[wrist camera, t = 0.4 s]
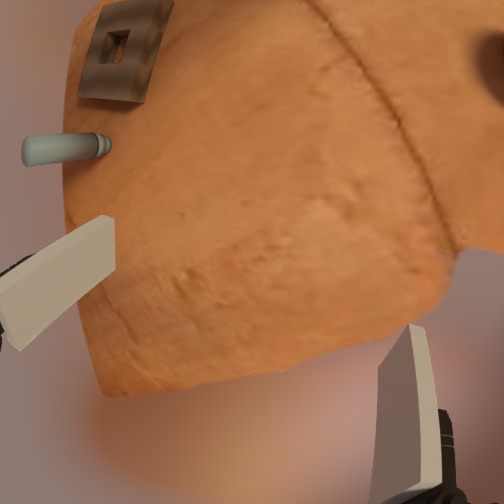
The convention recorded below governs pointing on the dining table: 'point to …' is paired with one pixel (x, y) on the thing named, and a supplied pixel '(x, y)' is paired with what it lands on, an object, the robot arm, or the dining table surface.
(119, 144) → the dining table surface
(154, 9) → the board
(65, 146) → the grey rounded cylinder
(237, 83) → the dining table surface
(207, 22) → the dining table surface
